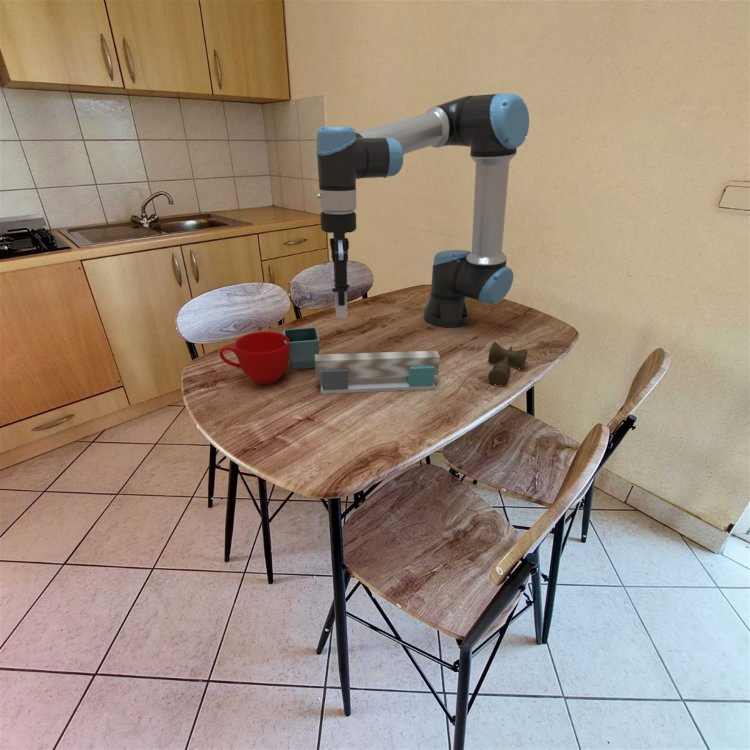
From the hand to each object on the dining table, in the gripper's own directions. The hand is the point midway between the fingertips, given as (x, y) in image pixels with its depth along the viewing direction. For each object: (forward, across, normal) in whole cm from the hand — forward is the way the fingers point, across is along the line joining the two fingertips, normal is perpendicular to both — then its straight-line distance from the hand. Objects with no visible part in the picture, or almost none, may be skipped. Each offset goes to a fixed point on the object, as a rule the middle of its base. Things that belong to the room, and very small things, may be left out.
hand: (341, 316), depth 102 cm
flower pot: (+17, -9, -10) cm, 22 cm away
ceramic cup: (+17, -2, -22) cm, 27 cm away
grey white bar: (+14, +3, +8) cm, 17 cm away
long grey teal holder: (+17, +3, +8) cm, 19 cm away
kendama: (+18, -1, +43) cm, 47 cm away
